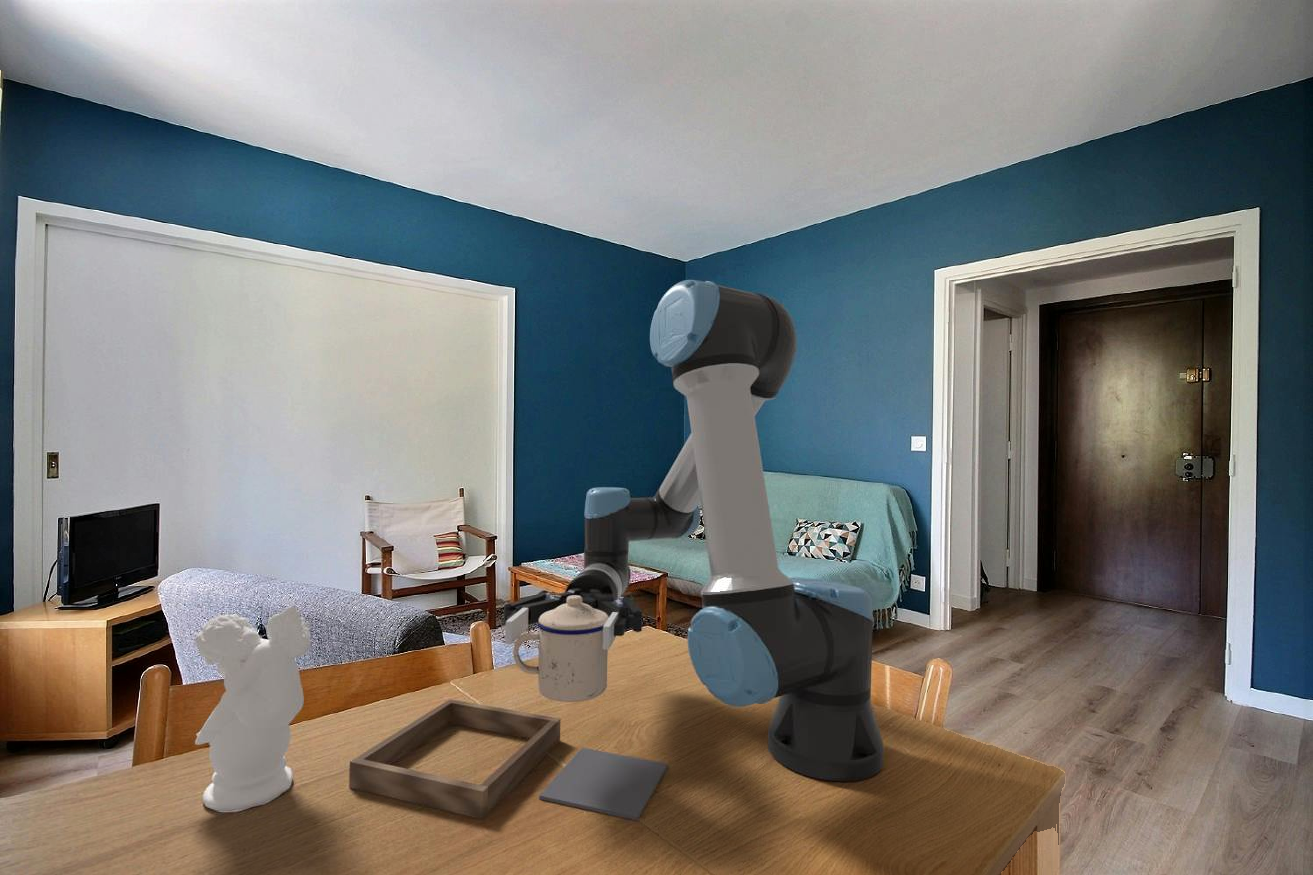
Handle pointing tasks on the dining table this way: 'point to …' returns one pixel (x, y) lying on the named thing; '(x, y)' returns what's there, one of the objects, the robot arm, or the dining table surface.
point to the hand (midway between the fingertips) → (556, 635)
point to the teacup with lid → (569, 652)
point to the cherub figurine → (252, 707)
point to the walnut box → (448, 793)
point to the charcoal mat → (606, 783)
